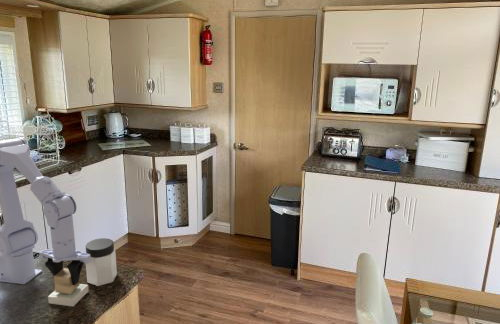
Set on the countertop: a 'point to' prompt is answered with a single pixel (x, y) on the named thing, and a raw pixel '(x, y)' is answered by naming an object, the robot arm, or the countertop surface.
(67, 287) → the oak block
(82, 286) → the tile base
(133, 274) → the countertop surface
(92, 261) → the jar
